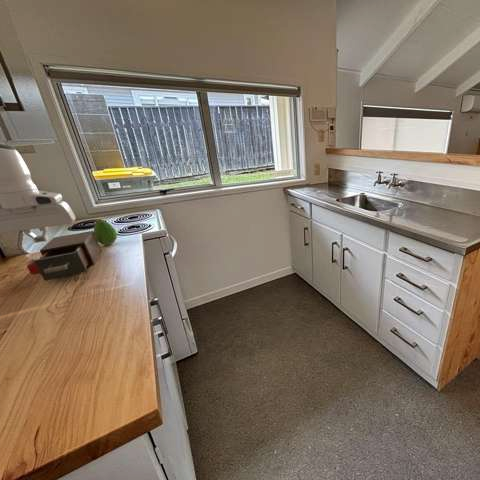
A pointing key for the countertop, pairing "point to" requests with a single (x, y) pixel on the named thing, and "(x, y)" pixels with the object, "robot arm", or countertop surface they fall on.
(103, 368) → the countertop surface
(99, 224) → the avocado
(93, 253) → the cabinet
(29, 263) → the doll
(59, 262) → the drawer
